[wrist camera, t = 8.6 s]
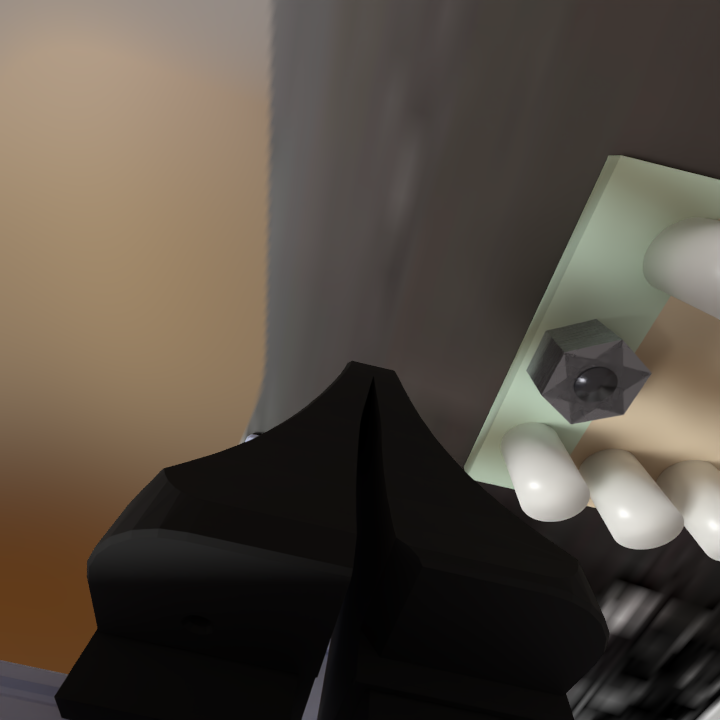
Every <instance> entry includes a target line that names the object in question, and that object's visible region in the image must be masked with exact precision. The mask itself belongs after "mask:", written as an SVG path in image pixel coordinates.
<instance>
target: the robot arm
mask: <svg viewBox="0 0 720 720" xmlns="http://www.w3.org/2000/svg"><path fill="white" fill-rule="evenodd" d="M87 579H88V584H89V588H90V593H91V598H92V603H93V608H94V613H95V617H96V623H97V628H98V629H97V631H96V632H95V634H94V635H93V637H92V638H91V640H90V642H89V643H88V645H87V646H86V648H85V649H84V651H83V652H82V654H81V655H80V658H79V659H78V660H77V662H76V664H75V665H74V666H73V668H72V670H71V671H70V673H69V674H63V673H58V672H53V671H49V670H44V669H39V668H35V667H30V666H25V665H20V664H16V663H11V662H6V661H1V660H0V720H574V718H573V714H572V711H571V708H570V705H569V702H568V699H567V695H566V693H567V692H568V691H569V690H570V689H571V688H572V687H573V686H574V685H575V684H576V683H577V682H578V681H579V680H580V679H581V678H582V677H583V676H584V675H585V674H586V673H587V672H588V671H589V670H590V669H591V668H592V667H593V666H594V665H595V664H596V663H597V661H598V660H599V659H600V657H601V656H602V655H603V653H604V652H605V650H606V648H607V643H608V638H609V630H608V627H607V624H606V621H605V618H604V616H603V613H602V611H601V609H600V607H599V605H598V602H597V600H596V598H595V596H594V593H593V591H592V589H591V587H590V585H589V583H588V580H587V578H586V576H585V574H584V572H583V570H582V568H581V566H580V564H579V562H578V560H577V559H575V558H574V557H572V556H571V555H570V554H568V553H567V552H565V551H564V550H562V549H561V548H560V547H558V546H557V545H555V544H554V543H552V542H551V541H549V540H548V539H547V538H545V537H544V536H542V535H541V534H539V533H538V532H537V531H535V530H534V529H532V528H531V527H529V526H528V525H527V524H525V523H524V522H523V521H522V520H520V519H519V518H518V517H516V516H515V515H514V514H513V513H511V512H510V511H509V510H508V509H506V508H505V507H504V506H503V505H501V504H500V503H499V502H498V501H497V500H496V499H494V498H493V497H492V496H491V495H490V494H489V493H487V492H486V491H485V490H484V489H483V488H482V487H481V486H480V485H479V484H478V483H477V482H476V481H475V480H474V479H472V478H471V477H470V476H469V475H468V474H467V473H466V472H465V471H464V470H463V469H462V468H461V467H460V466H459V465H458V464H457V463H456V461H455V460H454V459H453V458H452V457H451V456H450V455H449V453H448V452H447V451H446V450H445V449H444V448H443V447H442V445H441V444H440V443H439V442H438V441H437V439H436V438H435V437H434V435H433V434H432V433H431V431H430V430H429V429H428V427H427V426H426V424H425V423H424V422H423V420H422V419H421V417H420V416H419V414H418V412H417V411H416V409H415V407H414V406H413V404H412V402H411V401H410V399H409V397H408V395H407V393H406V392H405V390H404V388H403V386H402V384H401V382H400V380H399V378H398V376H397V374H396V373H395V371H393V370H389V369H385V368H380V367H376V366H372V365H367V364H363V363H359V362H355V361H351V362H349V363H347V365H346V367H345V369H344V370H343V371H342V373H341V374H340V375H339V376H338V377H337V379H336V380H335V381H334V382H333V383H332V384H331V385H330V386H329V387H328V388H327V389H326V390H325V391H324V392H323V393H322V394H321V395H319V396H318V397H317V398H316V399H315V400H313V401H312V402H311V403H310V404H309V405H307V406H306V407H305V408H303V409H302V410H301V411H299V412H298V413H297V414H295V415H294V416H292V417H291V418H289V419H288V420H286V421H284V422H283V423H281V424H279V425H278V426H276V427H274V428H272V429H271V430H269V431H267V432H265V433H263V434H261V435H253V434H252V435H249V436H248V437H247V439H246V441H245V442H244V443H242V444H239V445H237V446H234V447H232V448H229V449H226V450H224V451H221V452H218V453H215V454H212V455H209V456H206V457H202V458H199V459H195V460H192V461H189V462H185V463H182V464H178V465H175V466H171V467H167V468H164V469H163V470H161V471H160V472H159V474H158V475H157V476H156V477H155V478H154V479H153V480H152V481H151V482H150V483H149V484H148V485H147V486H146V487H145V488H143V490H142V491H141V492H140V493H139V494H138V495H137V496H136V497H135V498H134V499H133V500H132V501H131V502H130V504H129V505H128V506H127V507H126V509H125V510H124V511H123V512H122V513H121V515H120V516H119V518H118V519H117V520H116V521H115V522H114V524H113V525H112V526H111V528H110V529H109V530H108V531H107V533H106V534H105V535H104V536H103V538H102V539H101V540H100V542H99V543H98V544H97V545H96V547H95V548H94V550H93V552H92V554H91V556H90V557H89V559H88V561H87Z"/></svg>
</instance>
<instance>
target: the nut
mask: <svg viewBox="0 0 720 720" xmlns="http://www.w3.org/2000/svg"><path fill="white" fill-rule="evenodd" d="M526 371H527V373H528V374H529V376H530V378H531V379H532V381H533V382H534V384H535V386H536V387H537V389H538V391H539V392H540V394H541V395H542V396H543V397H544V398H545V399H546V400H547V401H548V402H549V403H550V404H551V405H552V406H553V407H554V408H555V409H556V410H557V411H558V412H559V413H560V414H561V415H562V416H563V417H564V418H565V419H566V420H567V421H568V422H569V423H570V424H576V423H582V422H587V421H593V420H598V419H604V418H609V417H615V416H620V415H624V414H625V412H626V411H627V409H628V408H629V406H630V405H631V403H632V402H633V400H634V399H635V397H636V396H637V395H638V393H639V392H640V390H641V389H642V387H643V386H644V384H645V383H646V381H647V380H648V378H649V377H650V375H651V374H652V373H651V372H650V370H649V369H648V368H647V367H646V366H645V365H644V364H643V362H642V361H641V360H640V359H639V358H638V357H637V355H636V354H635V353H634V352H633V351H632V350H631V349H630V347H629V346H628V345H627V344H626V343H625V342H624V341H623V339H621V338H620V337H619V336H617V335H616V334H615V333H614V332H612V331H611V330H610V329H609V328H607V327H606V326H605V325H604V324H602V323H601V322H600V321H598V320H597V319H594V320H589V321H585V322H581V323H576V324H572V325H568V326H564V327H559V328H555V329H551V330H547V331H545V333H544V335H543V337H542V339H541V341H540V343H539V345H538V347H537V349H536V351H535V353H534V355H533V357H532V359H531V361H530V363H529V365H528V367H527V369H526Z"/></svg>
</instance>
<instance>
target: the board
mask: <svg viewBox="0 0 720 720" xmlns="http://www.w3.org/2000/svg"><path fill="white" fill-rule="evenodd" d="M695 217H702V218H707V219H713V220H718V221H720V180H718V179H714V178H710V177H706V176H702V175H698V174H694V173H690V172H686V171H682V170H678V169H674V168H670V167H666V166H662V165H658V164H654V163H650V162H646V161H642V160H638V159H634V158H630V157H626V156H622V155H616V156H608V158H607V161H606V163H605V165H604V167H603V169H602V171H601V174H600V176H599V178H598V180H597V182H596V184H595V186H594V189H593V191H592V193H591V195H590V197H589V199H588V201H587V204H586V206H585V208H584V210H583V212H582V214H581V217H580V219H579V221H578V223H577V225H576V227H575V229H574V232H573V234H572V236H571V238H570V240H569V242H568V244H567V247H566V249H565V251H564V253H563V255H562V257H561V260H560V262H559V264H558V266H557V268H556V270H555V272H554V275H553V277H552V279H551V281H550V283H549V285H548V287H547V290H546V292H545V294H544V296H543V298H542V300H541V303H540V305H539V307H538V309H537V311H536V313H535V315H534V318H533V320H532V322H531V324H530V326H529V328H528V330H527V333H526V335H525V337H524V339H523V341H522V343H521V346H520V348H519V350H518V352H517V354H516V356H515V358H514V361H513V363H512V365H511V367H510V369H509V371H508V373H507V376H506V378H505V380H504V382H503V384H502V386H501V389H500V391H499V393H498V395H497V397H496V399H495V401H494V404H493V406H492V408H491V410H490V412H489V414H488V416H487V419H486V421H485V423H484V425H483V427H482V429H481V432H480V434H479V436H478V438H477V440H476V442H475V444H474V447H473V449H472V451H471V453H470V455H469V457H468V459H467V462H466V464H465V466H464V469H465V472H466V473H467V474H468V475H469V476H470V477H471V478H472V479H474V480H475V481H480V482H484V483H489V484H493V485H498V486H502V487H506V488H511V489H514V486H513V483H512V480H511V478H510V475H509V472H508V469H507V466H506V464H505V461H504V458H503V455H502V453H501V448H500V445H501V441H502V438H503V437H504V435H505V434H506V433H507V432H508V431H509V430H510V429H512V428H513V427H515V426H517V425H520V424H523V423H528V422H539V423H543V424H546V425H548V426H550V427H551V428H553V429H554V430H555V432H556V433H557V435H558V437H559V438H560V440H561V442H562V443H563V445H564V447H565V449H566V450H567V452H568V454H569V455H570V457H571V459H572V460H573V462H574V464H575V466H576V467H577V469H578V471H579V468H580V466H581V464H582V463H583V462H584V460H585V459H587V458H588V457H589V456H591V455H592V454H594V453H596V452H599V451H602V450H606V449H622V450H626V451H628V452H630V453H632V454H633V455H634V456H635V457H636V459H637V460H638V461H639V462H640V464H641V465H642V466H643V467H644V469H645V470H646V471H647V472H648V474H649V475H650V476H651V477H652V479H653V480H654V481H655V482H656V481H657V479H658V477H659V476H660V474H661V473H662V472H663V471H664V470H666V469H667V468H668V467H670V466H672V465H674V464H676V463H679V462H682V461H686V460H703V461H707V462H709V463H711V464H713V465H714V466H715V467H716V468H717V469H718V470H719V471H720V320H719V319H717V318H715V317H713V316H711V315H709V314H707V313H705V312H703V311H701V310H699V309H697V308H695V307H693V306H691V305H689V304H687V303H685V302H683V301H681V300H679V299H677V298H675V297H673V296H670V295H668V294H666V293H664V292H662V291H660V290H658V289H656V288H654V287H653V286H651V285H650V284H649V283H648V281H647V280H646V278H645V276H644V273H643V260H644V256H645V253H646V251H647V249H648V247H649V246H650V244H651V243H652V241H653V240H654V239H655V238H656V237H657V236H658V235H659V234H660V233H661V232H662V231H663V230H664V229H666V228H667V227H669V226H670V225H672V224H674V223H676V222H678V221H681V220H684V219H688V218H695ZM594 319H597V320H598V321H600V322H601V323H602V324H604V325H605V326H606V327H607V328H609V329H610V330H611V331H612V332H614V333H615V334H616V335H617V336H619V337H620V338H621V339H623V341H624V342H625V343H626V344H627V345H628V346H629V347H630V349H631V350H632V351H633V352H634V353H635V354H636V355H637V357H638V358H639V359H640V360H641V361H642V362H643V364H644V365H645V366H646V367H647V368H648V369H649V370H650V372H651V373H652V374H651V375H650V377H649V378H648V380H647V381H646V383H645V384H644V386H643V387H642V389H641V390H640V392H639V393H638V395H637V396H636V397H635V399H634V400H633V402H632V403H631V405H630V406H629V408H628V409H627V411H626V412H625V414H624V415H620V416H615V417H609V418H604V419H598V420H593V421H587V422H582V423H576V424H570V423H569V422H568V421H567V420H566V419H565V418H564V417H563V416H562V415H561V414H560V413H559V412H558V411H557V410H556V409H555V408H554V407H553V406H552V405H551V404H550V403H549V402H548V401H547V400H546V399H545V398H544V397H543V396H542V395H541V394H540V392H539V391H538V389H537V387H536V386H535V384H534V382H533V381H532V379H531V378H530V376H529V374H528V373H527V371H526V369H527V367H528V365H529V363H530V361H531V359H532V357H533V355H534V353H535V351H536V349H537V347H538V345H539V343H540V341H541V339H542V337H543V335H544V333H545V331H547V330H551V329H555V328H559V327H564V326H568V325H572V324H576V323H581V322H585V321H589V320H594ZM587 506H590V507H594V508H596V506H595V505H594V503H593V501H592V499H591V498H590V499H589V502H588V504H587ZM683 527H684V526H683Z"/></svg>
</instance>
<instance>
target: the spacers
mask: <svg viewBox="0 0 720 720" xmlns="http://www.w3.org/2000/svg"><path fill="white" fill-rule="evenodd" d="M643 273H644V276H645V278H646V280H647V281H648V283H649V284H650V285H651V286H653V287H654V288H656V289H658V290H660V291H662V292H664V293H666V294H668V295H670V296H673V297H675V298H677V299H679V300H681V301H683V302H685V303H687V304H689V305H691V306H693V307H695V308H697V309H699V310H701V311H703V312H705V313H707V314H709V315H711V316H713V317H715V318H717V319H719V320H720V221H718V220H713V219H707V218H702V217H695V218H688V219H684V220H681V221H678V222H676V223H674V224H672V225H670V226H669V227H667V228H666V229H664V230H663V231H662V232H661V233H660V234H659V235H658V236H657V237H656V238H655V239H654V240H653V241H652V243H651V244H650V246H649V247H648V249H647V251H646V253H645V256H644V260H643ZM500 448H501V453H502V455H503V458H504V461H505V464H506V466H507V469H508V472H509V475H510V478H511V480H512V483H513V486H514V489H515V492H516V494H517V497H518V500H519V503H520V505H521V508H522V510H523V511H524V512H525V513H526V514H527V515H528V516H530V517H531V518H533V519H536V520H539V521H545V522H556V521H562V520H566V519H569V518H571V517H573V516H575V515H577V514H578V513H580V512H581V511H582V510H583V509H584V508H585V507H586V506H587V504H588V502H589V499H590V498H591V499H592V501H593V503H594V505H595V506H596V508H597V510H598V512H599V513H600V515H601V517H602V519H603V520H604V522H605V524H606V526H607V527H608V529H609V531H610V533H611V534H612V536H613V538H614V539H615V541H616V542H617V543H619V544H620V545H622V546H624V547H627V548H631V549H651V548H655V547H659V546H662V545H664V544H666V543H668V542H670V541H672V540H673V539H674V538H676V537H677V536H678V535H679V534H680V532H681V531H682V529H683V526H685V527H686V529H687V530H688V531H689V533H690V534H691V535H692V536H693V538H694V539H695V540H696V541H697V543H698V544H699V545H700V547H701V548H702V549H703V550H704V552H705V553H706V554H707V555H708V556H709V557H710V558H712V559H714V560H717V561H720V471H719V470H718V469H717V468H716V467H715V466H714V465H713V464H711V463H709V462H707V461H703V460H686V461H682V462H679V463H676V464H674V465H672V466H670V467H668V468H667V469H666V470H664V471H663V472H662V473H661V474H660V476H659V477H658V479H657V481H656V482H655V481H654V480H653V479H652V477H651V476H650V475H649V474H648V472H647V471H646V470H645V469H644V467H643V466H642V465H641V464H640V462H639V461H638V460H637V459H636V457H635V456H634V455H633V454H632V453H630V452H628V451H626V450H622V449H606V450H602V451H599V452H596V453H594V454H592V455H591V456H589V457H588V458H587V459H585V460H584V462H583V463H582V464H581V466H580V468H579V471H578V469H577V467H576V466H575V464H574V462H573V460H572V459H571V457H570V455H569V454H568V452H567V450H566V449H565V447H564V445H563V443H562V442H561V440H560V438H559V437H558V435H557V433H556V432H555V430H554V429H553V428H551V427H550V426H548V425H546V424H543V423H539V422H528V423H523V424H520V425H517V426H515V427H513V428H512V429H510V430H509V431H508V432H507V433H506V434H505V435H504V437H503V438H502V441H501V445H500Z"/></svg>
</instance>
